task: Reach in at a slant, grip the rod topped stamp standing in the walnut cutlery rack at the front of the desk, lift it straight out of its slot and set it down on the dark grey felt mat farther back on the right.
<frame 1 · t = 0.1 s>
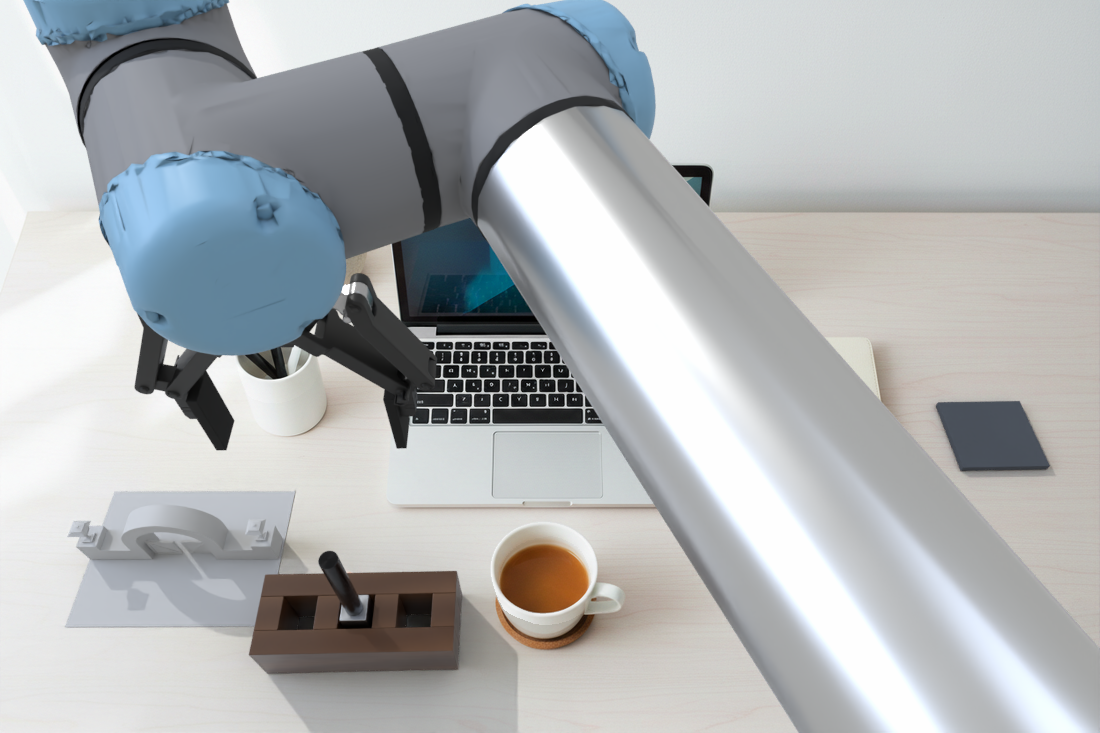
hand: (314, 434, 60), 27 cm above the table, tool pointing down, fingers open, 13 cm apart
felt mat: (989, 436, 92), on the table
cutlery rack: (367, 632, 77), on the table
grey arched handle: (187, 556, 82), on the table
rod topped stamp: (349, 599, 70), in the cutlery rack
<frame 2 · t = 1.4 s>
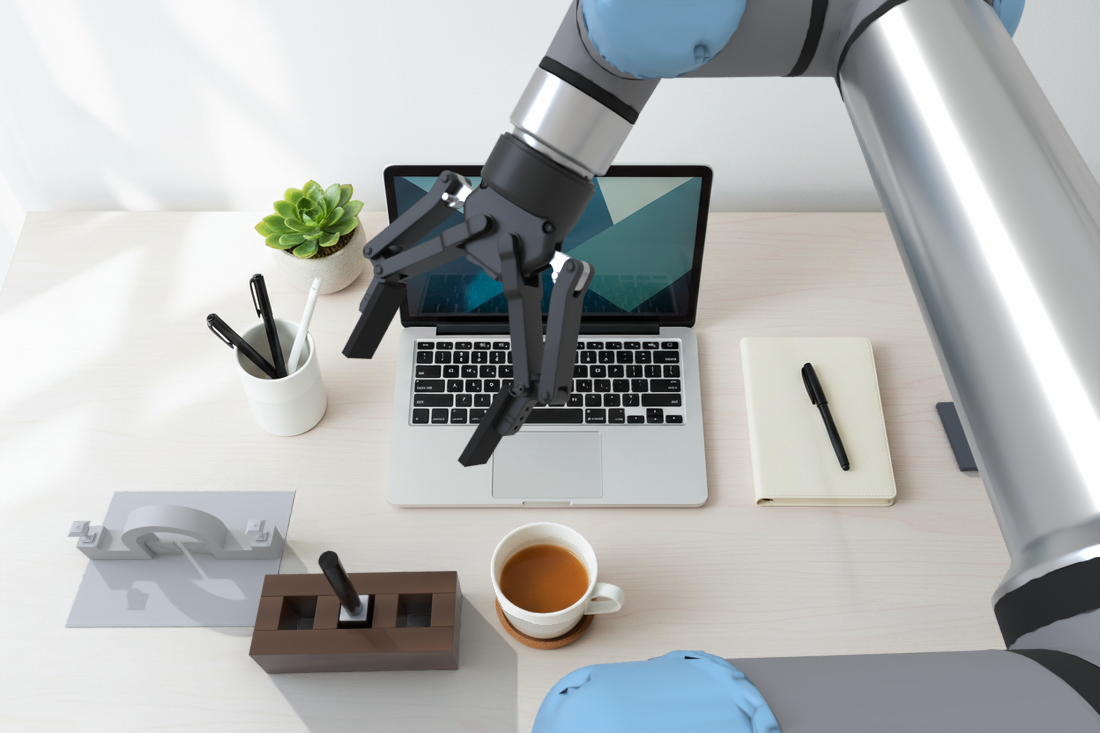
hand: (411, 407, 59), 29 cm above the table, tool tilted 45°, fingers open, 13 cm apart
nothing on the table moved.
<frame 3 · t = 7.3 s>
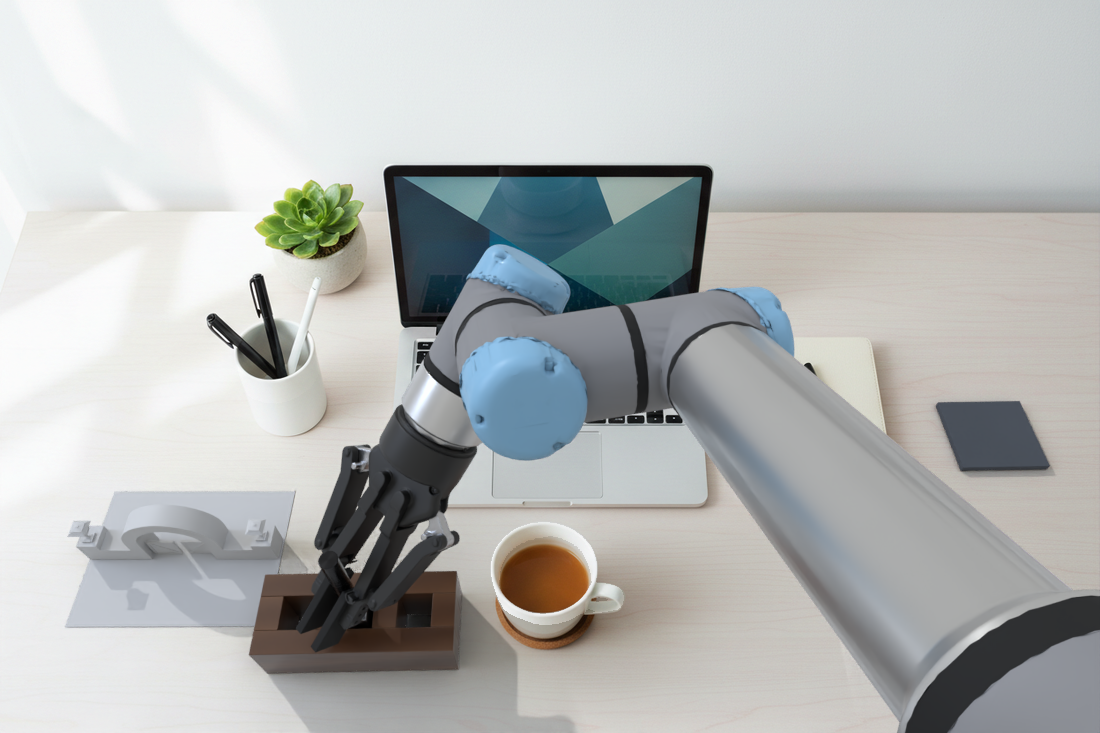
hand: (317, 635, 70), 8 cm above the table, tool tilted 45°, fingers closed on rod topped stamp, 1 cm apart
rod topped stamp: (349, 599, 70), in the cutlery rack, touching gripper
everything else where it was.
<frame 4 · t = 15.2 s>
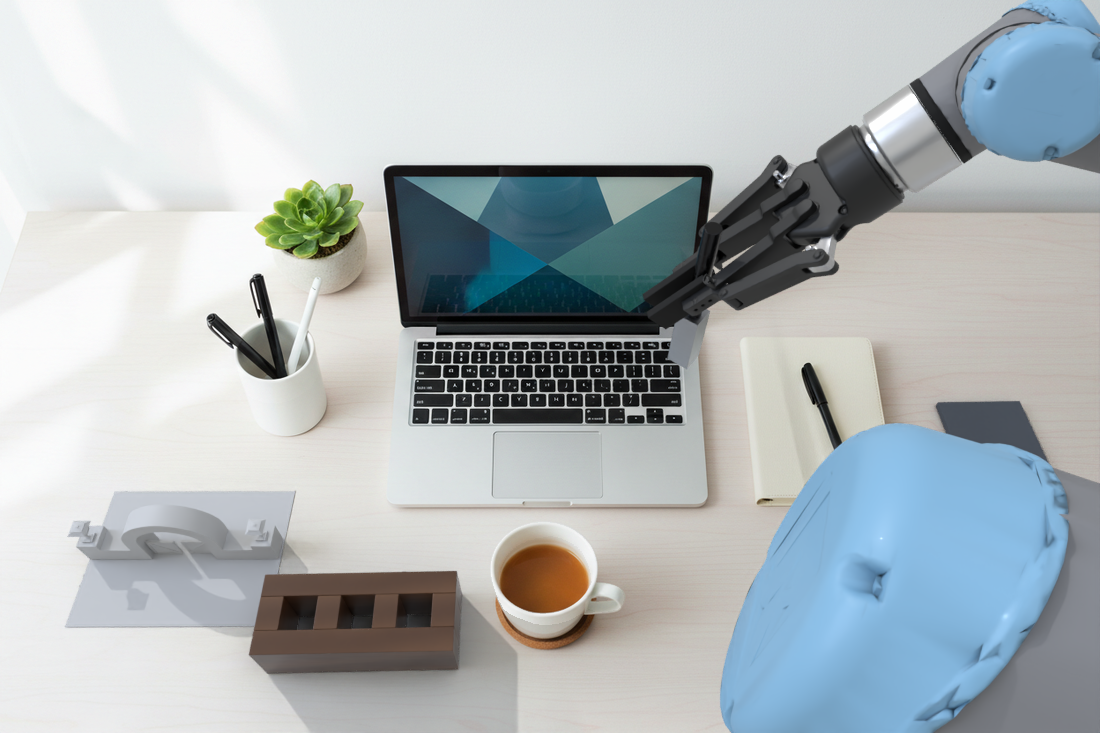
hand: (654, 311, 74), 22 cm above the table, tool tilted 45°, fingers closed on rod topped stamp, 1 cm apart
rod topped stamp: (696, 298, 73), point 23 cm above the table, touching gripper
everything else where it was.
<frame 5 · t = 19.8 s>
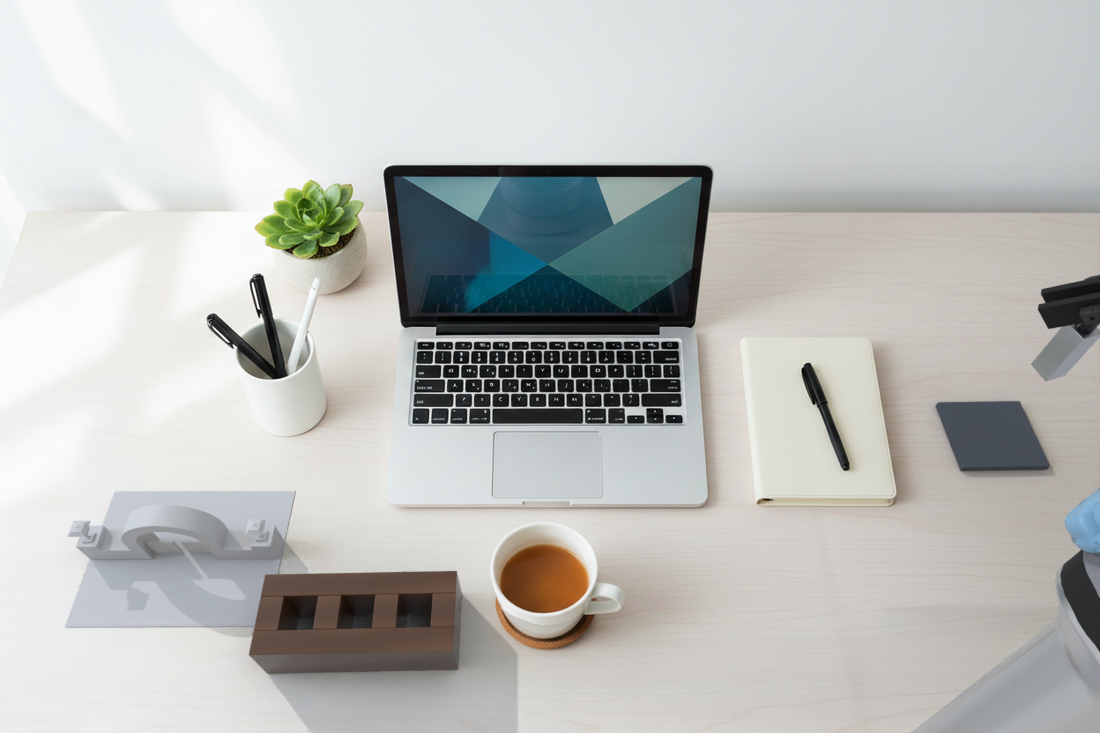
hand: (1045, 308, 76), 21 cm above the table, tool tilted 45°, fingers closed on rod topped stamp, 1 cm apart
rod topped stamp: (1096, 313, 74), point 22 cm above the table, touching gripper
everything else where it was.
when the fingers open (8 cm above the table, at t = 23.3 s): rod topped stamp stays where it is, resting on felt mat.
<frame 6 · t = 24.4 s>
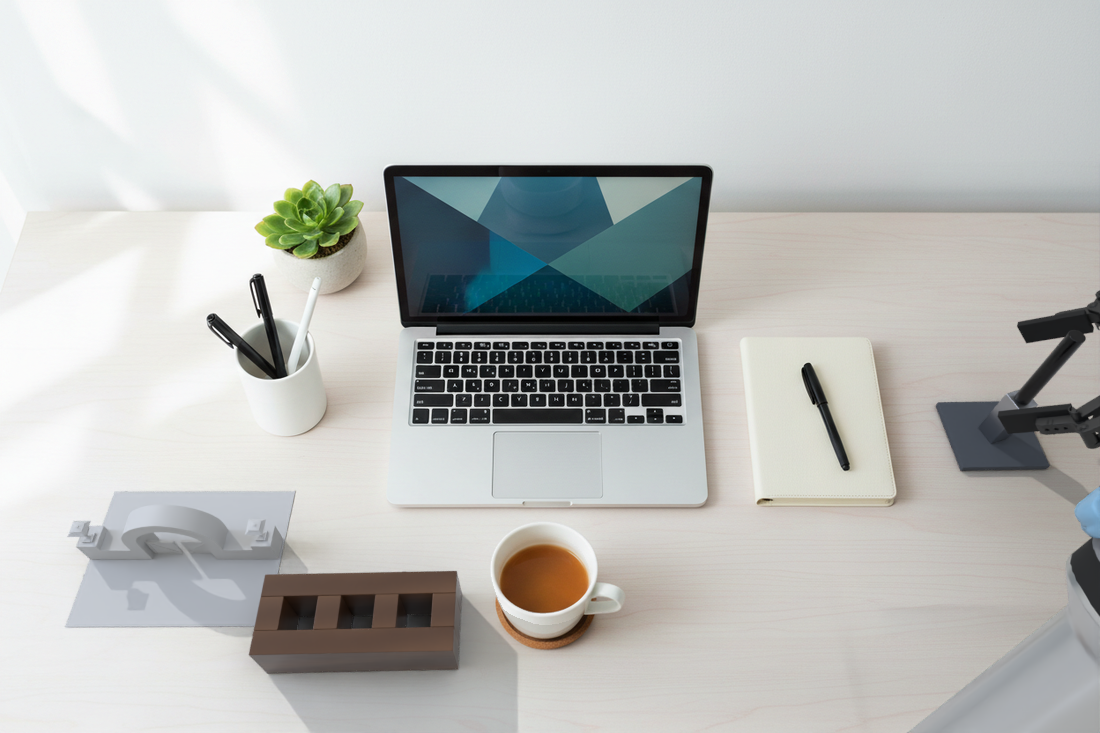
hand: (1012, 375, 84), 11 cm above the table, tool tilted 45°, fingers open, 13 cm apart
rod topped stamp: (1031, 388, 84), on the felt mat, point 10 cm above the table
everything else where it was.
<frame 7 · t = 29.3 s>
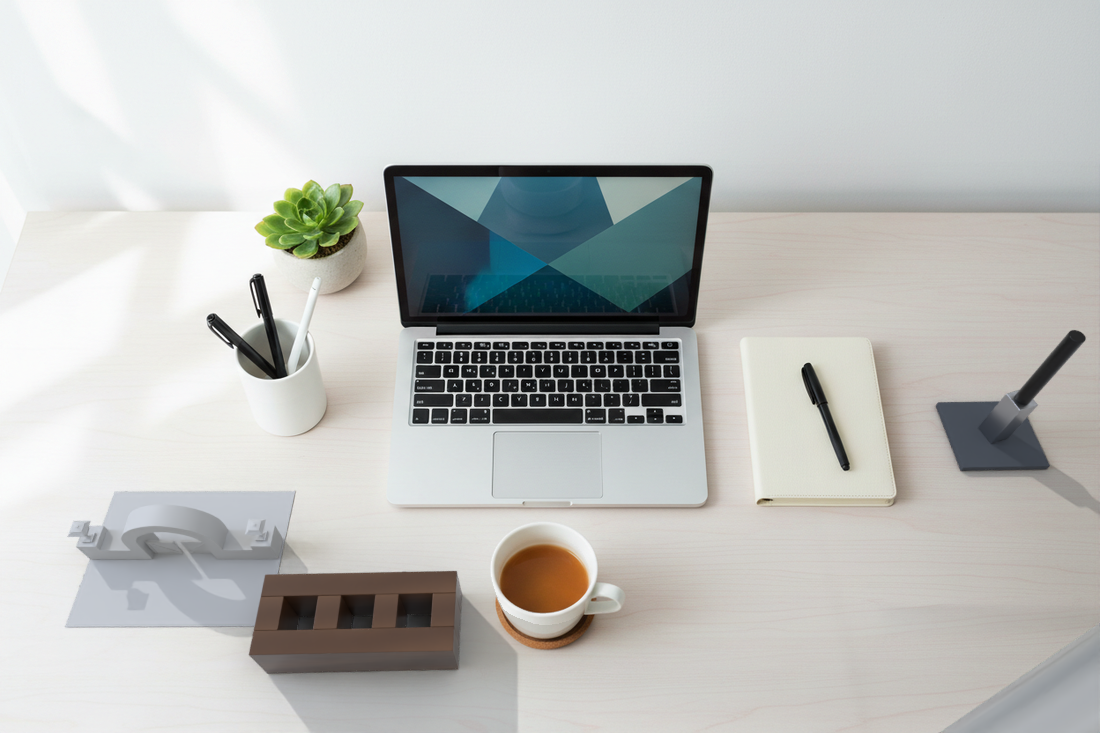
nothing on the table moved.
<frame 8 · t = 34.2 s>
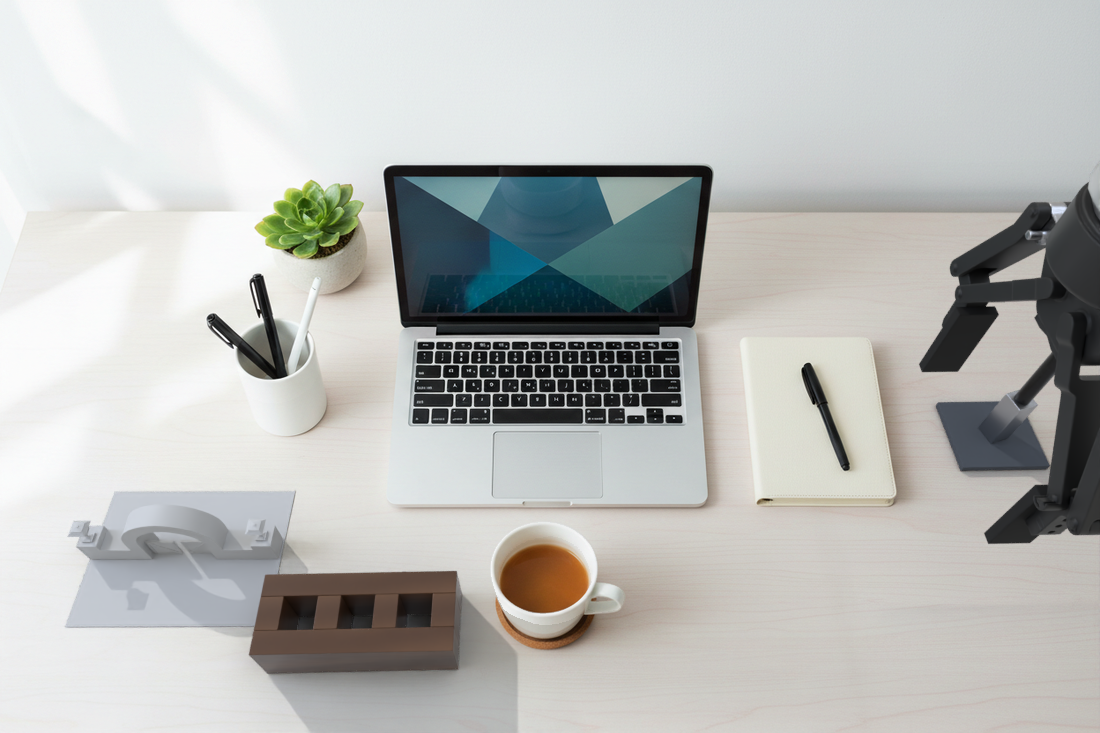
hand: (969, 447, 54), 32 cm above the table, tool pointing down, fingers open, 13 cm apart
nothing on the table moved.
at the end: rod topped stamp inside the target area on the felt mat (0.0 cm from its centre), point 9.8 cm above the felt mat's base; the gripper is holding nothing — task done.
